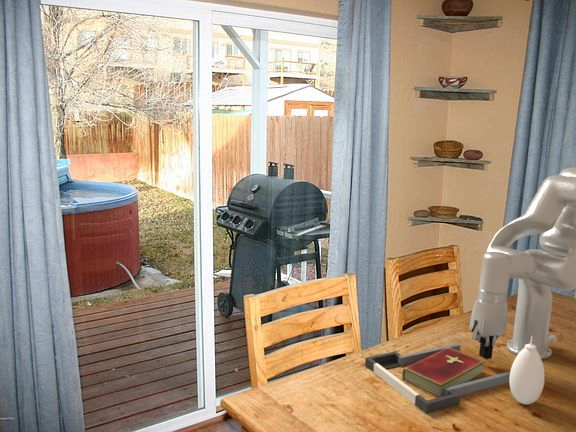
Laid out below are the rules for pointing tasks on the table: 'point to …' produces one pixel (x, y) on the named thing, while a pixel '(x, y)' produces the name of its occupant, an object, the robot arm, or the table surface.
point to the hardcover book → (443, 370)
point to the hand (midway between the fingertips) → (485, 356)
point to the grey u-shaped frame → (449, 399)
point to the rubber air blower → (527, 375)
